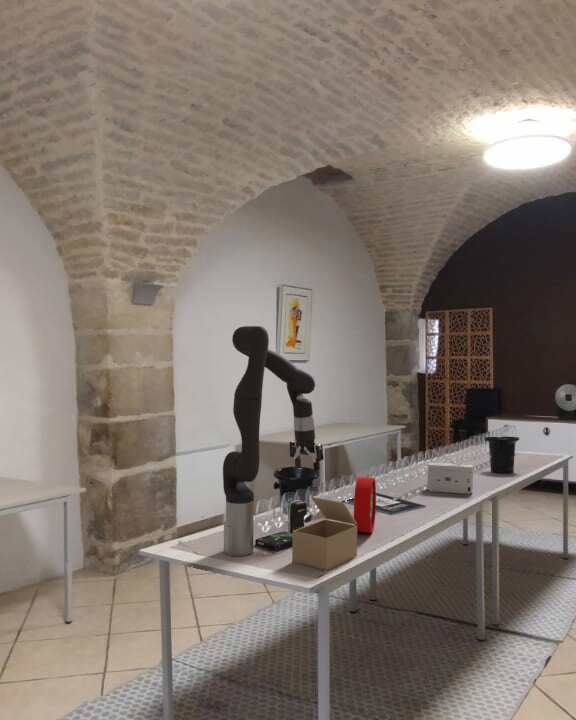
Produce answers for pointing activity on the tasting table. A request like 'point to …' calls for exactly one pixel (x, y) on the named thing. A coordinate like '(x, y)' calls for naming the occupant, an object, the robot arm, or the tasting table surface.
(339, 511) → the carton flap
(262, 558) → the tasting table surface
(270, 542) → the disk drive
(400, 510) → the sketchbook
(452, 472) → the stereo radio cassette player
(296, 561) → the carton
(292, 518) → the battery
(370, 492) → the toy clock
